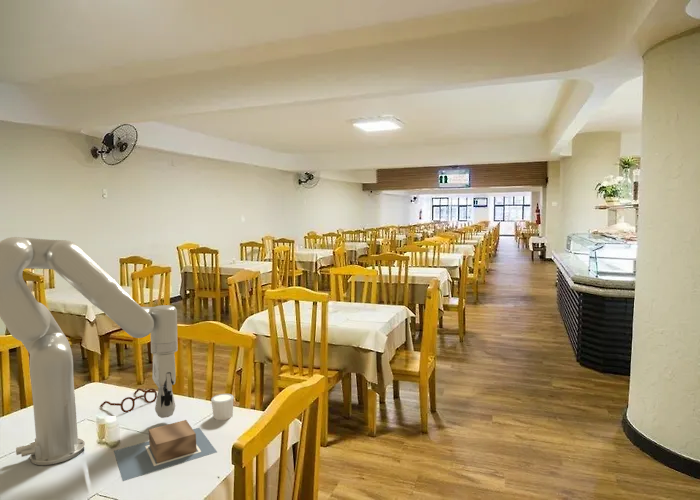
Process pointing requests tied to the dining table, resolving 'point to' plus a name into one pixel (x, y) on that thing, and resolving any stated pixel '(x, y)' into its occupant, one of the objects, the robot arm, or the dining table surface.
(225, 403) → the white rounded cylinder
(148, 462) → the board
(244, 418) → the dining table surface
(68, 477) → the dining table surface
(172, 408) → the salt shaker
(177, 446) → the walnut block
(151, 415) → the dining table surface
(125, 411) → the glasses
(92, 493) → the dining table surface
